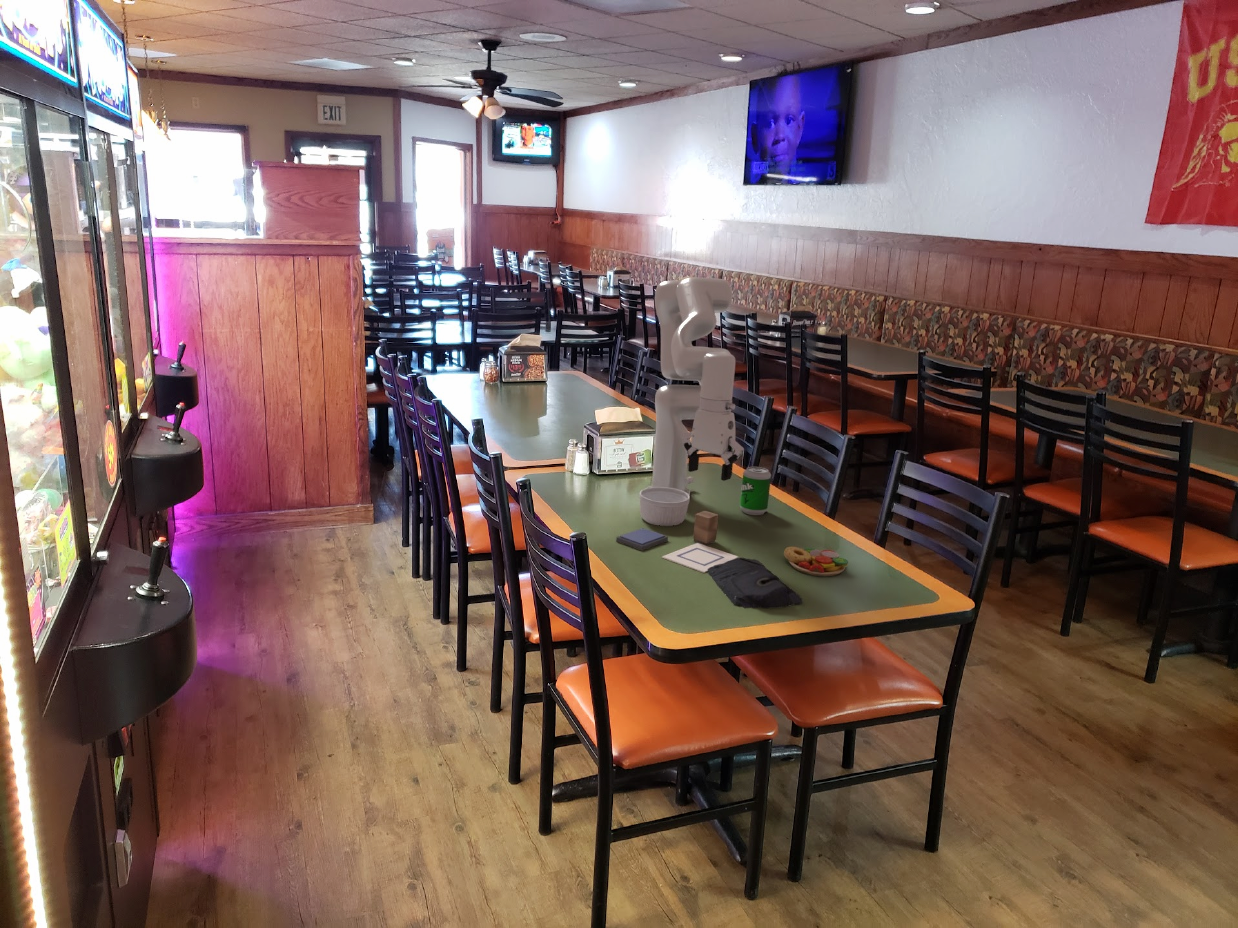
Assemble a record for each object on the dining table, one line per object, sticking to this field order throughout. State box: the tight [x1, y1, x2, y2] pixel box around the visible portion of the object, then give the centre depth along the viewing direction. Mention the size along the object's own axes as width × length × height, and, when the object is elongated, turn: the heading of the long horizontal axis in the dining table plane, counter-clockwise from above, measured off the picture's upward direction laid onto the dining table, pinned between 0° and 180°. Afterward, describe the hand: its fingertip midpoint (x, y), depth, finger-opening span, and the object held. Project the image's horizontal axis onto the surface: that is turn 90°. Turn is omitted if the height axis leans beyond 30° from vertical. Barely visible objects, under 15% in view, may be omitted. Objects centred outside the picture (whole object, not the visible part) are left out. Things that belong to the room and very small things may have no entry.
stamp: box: [692, 510, 719, 546], centre depth 217 cm, size 4×4×7 cm
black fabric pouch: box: [706, 557, 803, 609], centre depth 192 cm, size 15×22×5 cm
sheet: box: [661, 542, 740, 574], centre depth 207 cm, size 14×12×1 cm
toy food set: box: [783, 546, 849, 577], centre depth 206 cm, size 13×13×3 cm
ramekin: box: [638, 487, 691, 527], centre depth 231 cm, size 13×13×7 cm
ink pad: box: [615, 527, 669, 551], centre depth 215 cm, size 10×8×1 cm
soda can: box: [739, 466, 772, 516], centre depth 242 cm, size 8×8×12 cm
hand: (709, 475), depth 213 cm, fingers open, 9 cm apart
